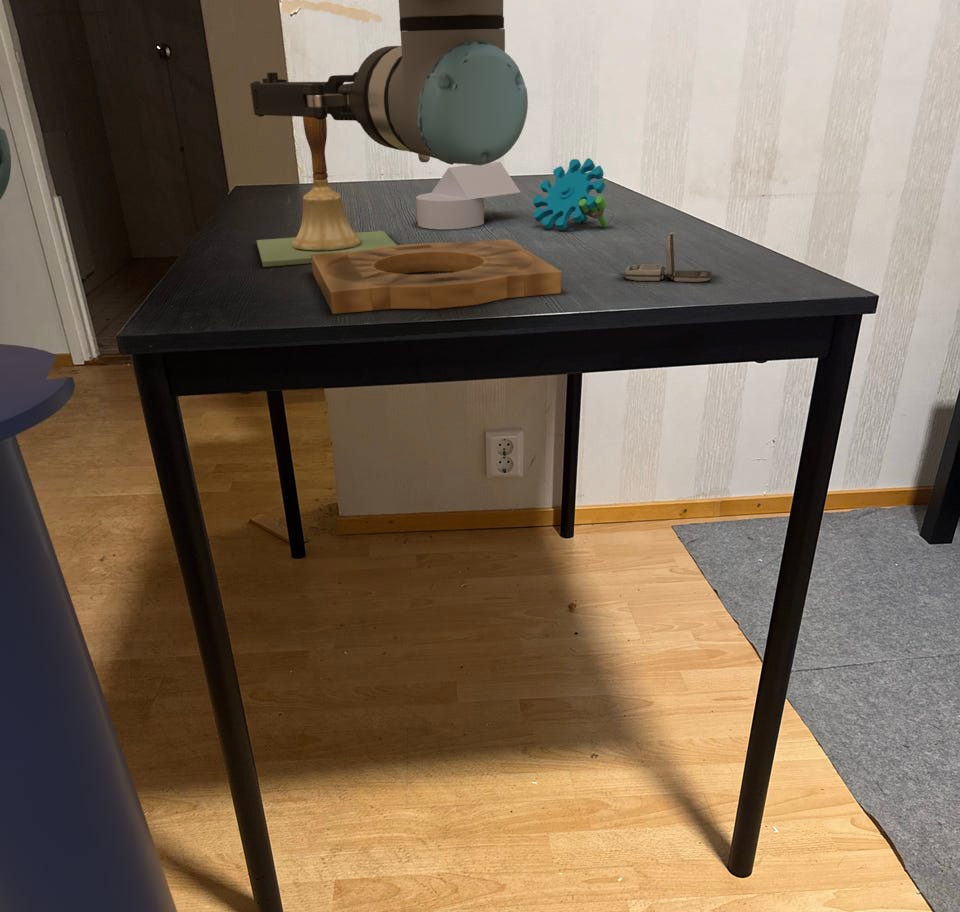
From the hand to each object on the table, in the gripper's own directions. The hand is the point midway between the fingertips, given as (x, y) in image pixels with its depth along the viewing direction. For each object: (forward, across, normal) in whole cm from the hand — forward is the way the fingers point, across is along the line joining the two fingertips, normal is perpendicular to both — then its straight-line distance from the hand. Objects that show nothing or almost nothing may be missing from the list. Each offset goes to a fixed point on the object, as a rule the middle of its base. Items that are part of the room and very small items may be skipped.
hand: (334, 91), depth 89 cm
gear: (+7, +32, -16) cm, 37 cm away
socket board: (-14, +4, -16) cm, 22 cm away
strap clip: (-24, +26, -16) cm, 39 cm away
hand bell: (+10, 0, -16) cm, 19 cm away
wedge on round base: (+19, +22, -17) cm, 33 cm away
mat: (+10, 0, -16) cm, 19 cm away
